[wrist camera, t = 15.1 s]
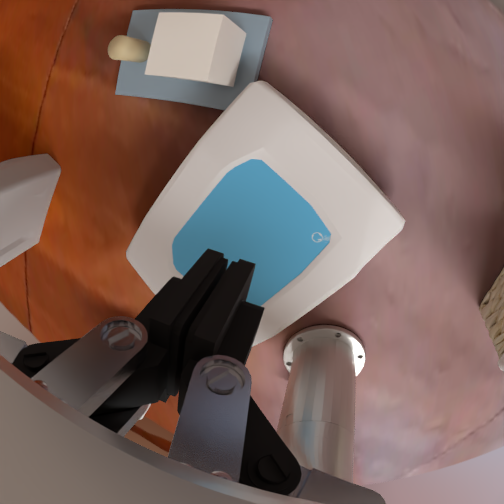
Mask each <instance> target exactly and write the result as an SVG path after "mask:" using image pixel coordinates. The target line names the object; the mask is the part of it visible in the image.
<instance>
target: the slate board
mask: <svg viewBox="0 0 504 504" xmlns="http://www.w3.org/2000/svg"><path fill="white" fill-rule="evenodd" d="M159 12H186V13H209V14H223V15H225V16H226V17H227V18H229V19H230V20H231V21H232V22H233V23H235V24H236V25H237V26H238V27H240V28H241V29H242V30H243V31H244V32H245V33H247V34H246V38H245V42H244V45H243V49H242V53H241V57H240V62H239V66H238V70H237V74H236V78H235V82H234V87H230V86H225V85H219V84H213V83H206V82H200V81H192V80H185V79H177V78H170V77H162V76H154V75H145V70H146V65H147V60H148V55H149V51H150V47H151V42H152V38H153V34H154V30H155V26H156V22H157V18H158V15H159ZM272 21H273V20H272V18H271V17H269V16H263V15H255V14H248V13H239V12H229V11H216V10H197V9H152V10H133V13H132V17H131V20H130V24H129V28H128V32H127V36H123V35H119V36H116V37H115V38H113V39H112V40H111V42H110V44H109V46H108V55H109V56H110V58H112V59H115V60H121V64H120V70H119V75H118V81H117V86H116V93H115V95H126V96H136V97H145V98H153V99H161V100H168V101H175V102H181V103H187V104H193V105H199V106H205V107H210V108H215V109H221V110H226V108H227V107H228V106H229V105H230V104H231V103H232V102H233V101H234V100H235V99H236V97H237V96H238V95H239V94H240V93H241V92H242V91H243V90H244V89H245V88H246V87H247V86H248V85H249V83H252V82H256V81H257V80H258V76H259V72H260V68H261V64H262V60H263V56H264V52H265V48H266V44H267V40H268V36H269V32H270V29H271V25H272Z"/></svg>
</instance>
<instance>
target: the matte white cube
mask: <svg viewBox="0 0 504 504" xmlns="http://www.w3.org/2000/svg"><path fill="white" fill-rule="evenodd" d="M246 34H247V33H245V32H244V31H243V30H242V29H241V28H240V27H238V26H237V25H236V24H235V23H233V22H232V21H231V20H230V19H229V18H227V17H226V16H225V15H223V14H209V13H186V12H159V15H158V18H157V22H156V26H155V30H154V34H153V38H152V42H151V47H150V51H149V55H148V60H147V65H146V70H145V75H154V76H162V77H170V78H177V79H185V80H192V81H200V82H206V83H213V84H219V85H225V86H230V87H234V82H235V78H236V74H237V70H238V66H239V62H240V57H241V53H242V49H243V45H244V42H245V38H246Z"/></svg>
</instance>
